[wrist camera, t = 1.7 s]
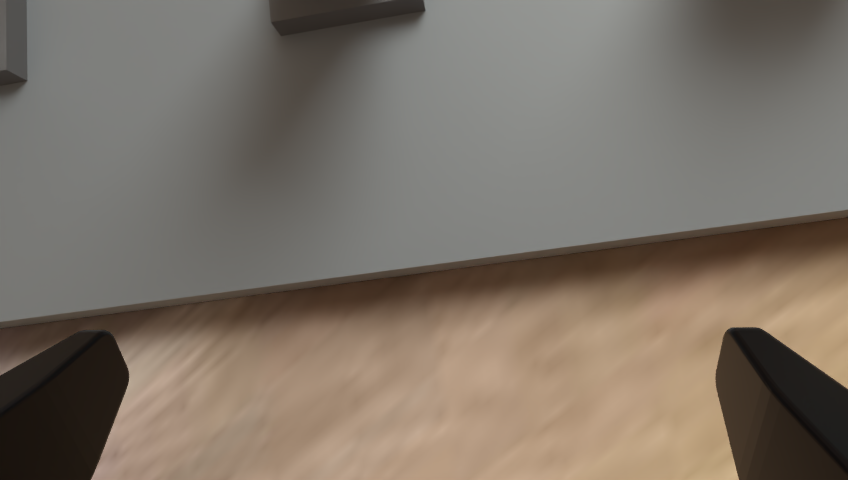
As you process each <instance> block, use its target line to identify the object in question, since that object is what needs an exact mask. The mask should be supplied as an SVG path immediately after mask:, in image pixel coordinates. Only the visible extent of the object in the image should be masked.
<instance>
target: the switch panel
mask: <svg viewBox="0 0 848 480" xmlns="http://www.w3.org/2000/svg"><path fill="white" fill-rule="evenodd" d="M847 217H848V0H0V328H8V327H15V326H23V325H30V324H38V323H46V322H53V321H61V320H69V319H76V318H84V317H91V316H99V315H107V314H114V313H122V312H130V311H137V310H145V309H153V308H160V307H168V306H175V305H183V304H191V303H198V302H206V301H214V300H221V299H229V298H236V297H244V296H252V295H259V294H267V293H275V292H282V291H290V290H297V289H305V288H313V287H320V286H328V285H336V284H343V283H351V282H358V281H366V280H374V279H381V278H389V277H397V276H404V275H412V274H419V273H427V272H435V271H442V270H450V269H458V268H465V267H473V266H481V265H488V264H496V263H503V262H511V261H519V260H526V259H534V258H542V257H549V256H557V255H564V254H572V253H580V252H587V251H595V250H603V249H610V248H618V247H625V246H633V245H641V244H648V243H656V242H664V241H671V240H679V239H686V238H694V237H702V236H709V235H717V234H725V233H732V232H740V231H747V230H755V229H763V228H770V227H778V226H786V225H793V224H801V223H809V222H816V221H824V220H831V219H839V218H847Z"/></svg>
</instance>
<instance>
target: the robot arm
mask: <svg viewBox="0 0 848 480" xmlns="http://www.w3.org/2000/svg"><path fill="white" fill-rule="evenodd" d="M128 382H129V371H128V368H127V365H126V363H125V361H124V358H123V356H122V354H121V352H120V349H119V347H118V345H117V343H116V340H115V338H114V336H113V335H112V334H111V333H110V332H108V331H105V330H84V331H80V332H77V333H76V334H74V335H72V336H70V337H68V338H67V339H65V340H63V341H61V342H59V343H58V344H56V345H54V346H52V347H51V348H49V349H47V350H45V351H43V352H42V353H40V354H38V355H36V356H34V357H33V358H31V359H29V360H27V361H26V362H24V363H22V364H20V365H18V366H17V367H15V368H13V369H11V370H10V371H8V372H6V373H4V374H2V375H1V376H0V480H91V479H92V476H93V474H94V472H95V469H96V467H97V464H98V462H99V460H100V457H101V454H102V452H103V449H104V447H105V444H106V441H107V439H108V436H109V433H110V431H111V428H112V426H113V423H114V420H115V418H116V415H117V413H118V410H119V407H120V405H121V402H122V399H123V397H124V394H125V392H126V389H127V386H128ZM716 388H717V393H718V397H719V401H720V405H721V409H722V413H723V417H724V421H725V425H726V429H727V433H728V437H729V441H730V445H731V449H732V453H733V458H734V462H735V466H736V470H737V474H738V477H739V480H848V389H847V388H845V387H844V386H843V385H841V384H840V383H838V382H837V381H835V380H834V379H833V378H831V377H830V376H828V375H827V374H825V373H824V372H823V371H821V370H820V369H818V368H817V367H816V366H814V365H813V364H811V363H810V362H808V361H807V360H806V359H804V358H803V357H801V356H800V355H798V354H797V353H796V352H794V351H793V350H791V349H790V348H788V347H787V346H786V345H784V344H783V343H781V342H780V341H779V340H777V339H776V338H774V337H773V336H771V335H770V334H769V333H767V332H766V331H764V330H762V329H760V328H755V327H742V328H730V329H728V330H727V331H726V332H725V334H724V337H723V342H722V346H721V351H720V356H719V360H718V365H717V369H716Z"/></svg>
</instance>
